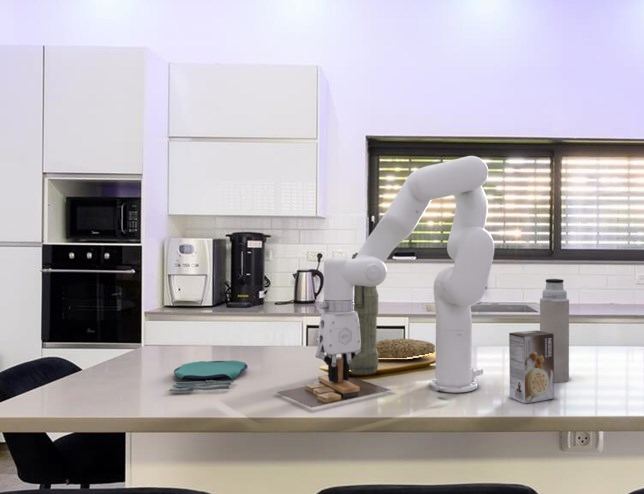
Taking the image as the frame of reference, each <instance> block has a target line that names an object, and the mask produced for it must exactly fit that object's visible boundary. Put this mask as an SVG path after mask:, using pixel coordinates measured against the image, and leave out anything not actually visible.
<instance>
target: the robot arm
mask: <svg viewBox="0 0 644 494" xmlns="http://www.w3.org/2000/svg"><path fill="white" fill-rule="evenodd" d="M488 177H489V168H488V165H487V163H486V162H485V161H484V160H483V159H482V158H480V157H478V156H476V155H468V156H463V157H459V158H455V159H451V160H448V161H443V162H439V163H434V164H431V165H426V166H423V167H420V168H418V169H416V170H414V171H412V172H411V173H410V174H409V175H408V176H407V178H406V179H405V181H404V182H403V183H402V186H401V187H400V188H399V191H398V192H397V194H396V195H395V196H394V199H393V200H392V202H391V203H390V205H389V206H388V208H387V210H386V211H385V212H384V214H383V215H382V217H381V218H380V220H379V222H378V223H377V224H376V226H375V227H374V229H372V231H371V232H370V235H368V237H367V239H366V240H365V241H364V243H363V244H362V246H361V247H360V249H359V251H358V252H357V253H358V254H357V256H356V257H355V259H352V257H348V256H347V257H346V256H333V257H327V258H325V259H324V262H323V300H322V301H323V302H322V303H320V304H319V309H320V310H323V312H321V313H320V314H321V315H320V319H319V325H318V336H317V351H316V353H315V358H317V359H319V360H322V361H323V362H324V363H325V365H326V366H327V375H328V378H329V381H331V382H334V383H337V382H338V367H337V366H336V357H337V355H340V357H342V358H343V380H345V381H348V380H349V378H350V373H349V364H351V360H352V359H353V358H354V356H355V355H356V354H358V353H359V352H360V351H361V349H360V346H361V338H360V325H359V319H358V314H357V312H356V311H354V285H359V286H367V287H373V286H376V287H377V286H379V285H381V284H383V282H384V281H385V280H386V278H387V274H388V269H387V266H386V264H385V262H386V261H387V260H388V258H389V256H390V255H391V254H392V253H393V250H395V249H396V247H398V245H400V244H401V243H402V242H404V241H405V240H406V239H407V238H409V236H410V235H412V234H413V232H414V230H415V229H416V227H417V225H418V224H419V222H420V220H421V219H422V217H423V216H424V214H425V212H426V210H427V209H428V207H429V206H430V204H431V202H432V201H433V200H437V199H442V198H446V197H451V196H453V197H454V199H455V211H454V216H453V220H452V225H451V228H450V232H449V235H448V239H447V244H446V250H447V251H446V252H447V254H448V257H450V259H452V260H453V261H454V264H453V266H448V267H445V268H443V269H441V270H440V271H438V273H437V275H436V276H435V278H434V281H433V299H434V306H435V378H433V379H431V380H430V381H429V385H430V386H432V387H433V388H434V387H435V388H437V389H439V390H437V391H438V392H443V393H453V394H454V393H456V394H457V393H468V392H472V391H475V390H477V389H478V382H477V380H475V378H476V377H480V376H483V374H484V370H483V368H482V367H479V368H474V367H472V364H473V363H472V362H473V361H472V360H473V358H472V356H473V354H472V352H473V351H472V350H473V346H472V345H473V344H472V343H473V342H472V341H473V340H472V339H473V338H472V337H473V317H472V316H473V315H472V306H474V305H476V304H478V303H479V302H480V300H481V299H482V298H483V296H484V294H485V291H486V288H487V285H488V280H489V277H490V272H491V268H492V265H493V260H494V256H495V242H494V239H493V236H492V234H491V233H490V232H489V231H488V230H487V229H485V227H486V222H487V217H488V212H489V202H488V198H487V194H486V192H485V189H484V188H483V186H484V185H485V183H486V182H487V180H488Z"/></svg>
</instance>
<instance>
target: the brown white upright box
mask: <svg viewBox="0 0 644 494" xmlns="http://www.w3.org/2000/svg"><path fill="white" fill-rule="evenodd" d="M508 334H509V335H508V338H509V339H508V340H509V341H508V343H509V344H508V347H509V351H508V352H509V353H508V354H509V355H508V356H509V357H508V358H509V398H511V399H513V400H516V401H518V402H521V403H523V404H530V403H535V402H542V401H547V400H553V399H555V382H554V334H553V333H548V332H543V331H540V330H527V331H514V332H508Z"/></svg>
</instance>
